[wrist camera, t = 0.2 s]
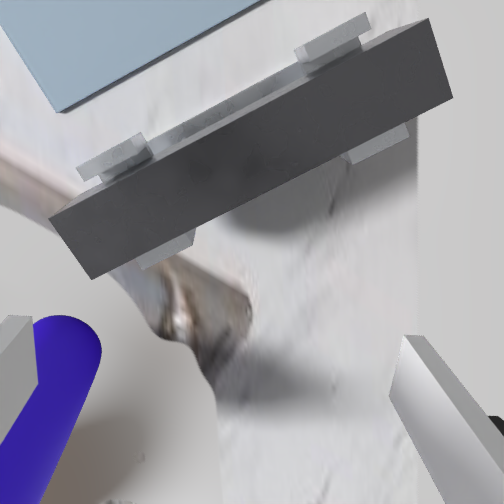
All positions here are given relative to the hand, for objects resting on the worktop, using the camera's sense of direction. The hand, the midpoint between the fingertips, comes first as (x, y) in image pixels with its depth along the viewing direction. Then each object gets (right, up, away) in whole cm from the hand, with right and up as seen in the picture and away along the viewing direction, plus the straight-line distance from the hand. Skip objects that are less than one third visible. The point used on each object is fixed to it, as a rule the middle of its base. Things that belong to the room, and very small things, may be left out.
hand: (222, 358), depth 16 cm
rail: (0, +11, +15) cm, 19 cm away
